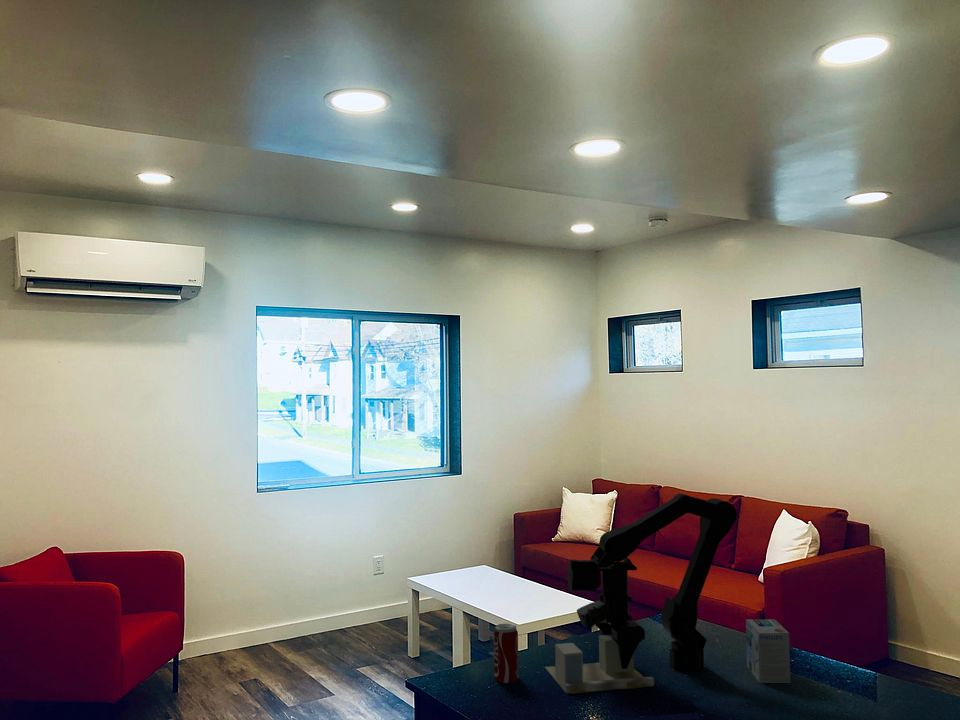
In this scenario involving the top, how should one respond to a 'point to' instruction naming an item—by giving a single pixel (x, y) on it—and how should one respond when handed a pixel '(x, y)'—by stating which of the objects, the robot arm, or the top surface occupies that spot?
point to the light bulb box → (768, 651)
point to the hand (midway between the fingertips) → (616, 661)
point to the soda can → (505, 653)
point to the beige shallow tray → (603, 680)
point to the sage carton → (611, 656)
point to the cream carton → (568, 663)
